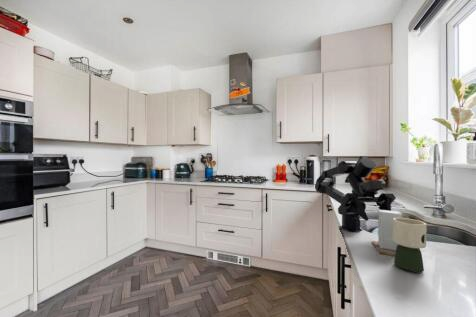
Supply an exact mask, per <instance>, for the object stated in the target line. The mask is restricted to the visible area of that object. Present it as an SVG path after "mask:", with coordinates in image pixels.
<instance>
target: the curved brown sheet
mask: <svg viewBox="0 0 476 317" xmlns="http://www.w3.org/2000/svg"><path fill="white" fill-rule="evenodd" d="M371 243H372V244H373V246H374V248H375V249H376V250H377V252H378V253H379V254H380V255H386V256H392V257H395V253H396V250H389V249H383V248H380V246H379V244H378V240H377V241H376V240H372V241H371Z"/></svg>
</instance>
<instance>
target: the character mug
mask: <svg viewBox="0 0 476 317" xmlns="http://www.w3.org/2000/svg"><path fill="white" fill-rule="evenodd" d="M393 241H394V242H395V243H397V244H398V245H397V248H396V253H395V256H394V265H395V266H397V267H399V268H401V269H404V270H407V271H409V272H414V273H423V272H425V267H424V260H423V255H422V254H423V253H422V251H421V249H425V248H426V247H427V223H426V222H424V221H421V220H418V219H413V218H409V217H402V218H393Z"/></svg>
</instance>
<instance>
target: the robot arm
mask: <svg viewBox="0 0 476 317" xmlns="http://www.w3.org/2000/svg"><path fill="white" fill-rule="evenodd" d="M376 167H377V163H376V162H375V161H374V160H373V159H371V158H368V157H367V156H366V155H365V156H364V155H360V156H359V159H358V160H341V161H340V162H338V164H337V166H335V167H331V168H329V169H326V170H322V172H321V175H320V176H319V177H318V178H317V179H316V181H315V184H314V189H315V191H316V193H319V194H322V195H323V194H324V195H327V196H328V197H330V198H332V199H333V200H334V201H336V202H337V203H339V204H340V205H339V207H337V213H338V214H339V215H341V225H339V226H338V228H340V229H343V230H345V231H347V232H350V233H353V232H360V231H361V230H362V231H363V228H361V219H360V218H362V219H363V220H365V221H366V222H368V221H369V216H368V215H367V213H366V208H367V205H366V203H375V204H376V206H377V208H378V210H388V211H392V203H393V202H394V201H395V200H396V199H397V198H396V196H395V195H394V193H392V192H391V193H390V192H381V194H379V196H375V195H377V194H378V193H379V192H378V191H380V190H384V189H385V188H387V182H386V181H385V180H384V179H382V178H381V179H380V178H379V179H372V180H368V181H366V179H365V178H368V177H369V176H370V175H371V174H372V172H373V171H374V170H375V168H376ZM343 175H347V176H346V177H345V180H344V183H346V184H349V185H350V187H351V189H352V190H351V192H346V194H345V193H344V192H342V191H340V190H339V189H336V188H335V187H334V186H335V180H334V178H335V177H338V176H343ZM325 179H329V180H330V181H325Z"/></svg>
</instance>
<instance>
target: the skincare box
mask: <svg viewBox="0 0 476 317" xmlns="http://www.w3.org/2000/svg"><path fill="white" fill-rule="evenodd" d="M377 213H378V214H377V216H378V217H377V218H378V220H377V221H378V223H377V224H378V227H377V228H378V232H377V233H378V236H377V237H378V238H377V241H378V244H379V246H380V248H383V249H389V250H396V248H397V245H398V244H397V243H395V242H394V241H393V218H403V214H402V213H401V212H400V211H395V210H391V211H388V210H380V209H378V211H377Z"/></svg>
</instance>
